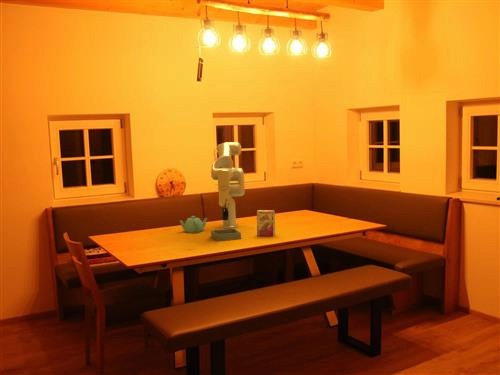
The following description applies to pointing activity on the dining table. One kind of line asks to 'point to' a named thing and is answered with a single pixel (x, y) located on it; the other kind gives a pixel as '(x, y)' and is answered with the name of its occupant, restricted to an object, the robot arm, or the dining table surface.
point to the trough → (225, 234)
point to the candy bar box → (265, 223)
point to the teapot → (193, 225)
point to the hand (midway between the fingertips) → (225, 216)
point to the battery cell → (223, 215)
